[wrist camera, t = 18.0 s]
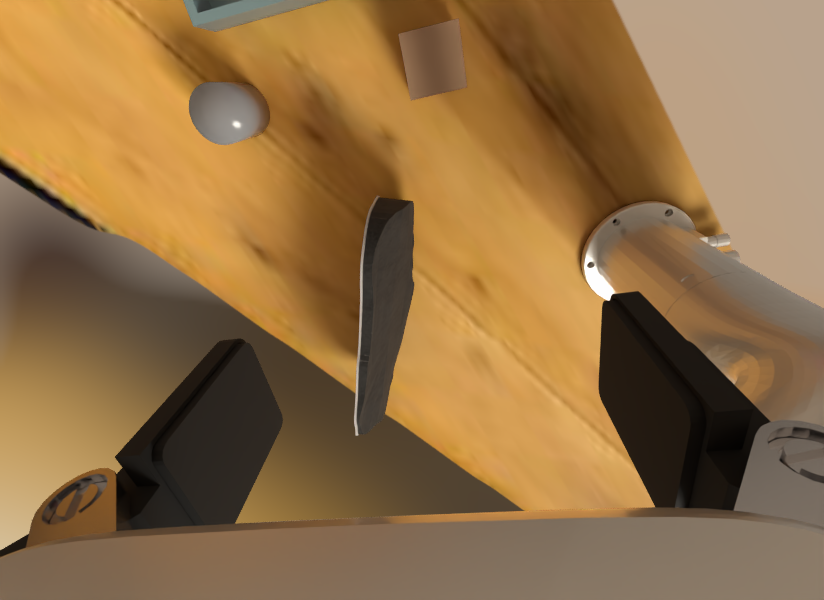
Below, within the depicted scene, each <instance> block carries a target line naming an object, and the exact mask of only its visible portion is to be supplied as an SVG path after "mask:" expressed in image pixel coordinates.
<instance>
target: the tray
mask: <svg viewBox="0 0 824 600" xmlns="http://www.w3.org/2000/svg"><path fill="white" fill-rule="evenodd" d="M183 1H184V3H185V6H186V9H187V11H188V14H189V16H190V19H191V21H192V24H193V26H194V27H198V28H202V29H206V30H210V31H214V32H216V31H220V30H223V29H227V28H231V27H234V26H238V25H241V24H245V23H249V22H252V21H256V20H259V19H263V18H266V17H270V16H274V15H277V14H281V13H284V12H288V11H292V10H295V9H299V8H302V7H306V6H310V5H313V4H317V3H320V2H324V1H327V0H183Z"/></svg>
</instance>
